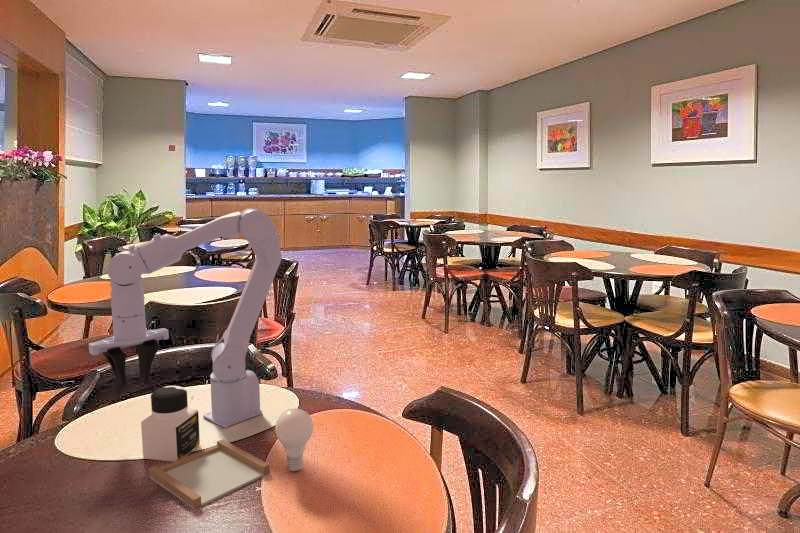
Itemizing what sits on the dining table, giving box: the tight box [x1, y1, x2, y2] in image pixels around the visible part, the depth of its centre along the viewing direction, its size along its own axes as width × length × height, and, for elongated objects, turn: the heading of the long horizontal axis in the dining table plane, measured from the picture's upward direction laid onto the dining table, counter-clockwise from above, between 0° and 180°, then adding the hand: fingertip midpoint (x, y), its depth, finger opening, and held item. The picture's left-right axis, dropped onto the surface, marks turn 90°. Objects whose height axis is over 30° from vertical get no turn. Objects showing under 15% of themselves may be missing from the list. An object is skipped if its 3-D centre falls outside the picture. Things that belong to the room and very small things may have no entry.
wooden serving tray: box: [148, 439, 271, 510], centre depth 94 cm, size 14×14×2 cm
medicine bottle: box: [140, 385, 201, 463], centre depth 101 cm, size 7×7×12 cm
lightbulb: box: [274, 407, 314, 472], centre depth 95 cm, size 6×6×11 cm
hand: (133, 381), depth 109 cm, fingers open, 4 cm apart
